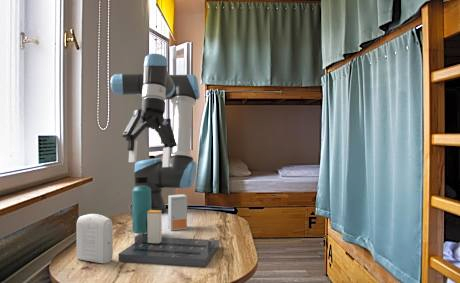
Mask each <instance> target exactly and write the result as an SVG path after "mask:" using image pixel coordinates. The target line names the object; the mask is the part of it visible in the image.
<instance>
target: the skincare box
mask: <svg viewBox="0 0 460 283" xmlns="http://www.w3.org/2000/svg"><path fill="white" fill-rule="evenodd" d="M167 197H168V198H167V200H168V201H167V202H168V203H167V207H168V208H167V210H168V212H167V216H168V217H167V218H168V219H167V220H168V221H167V224H168V225H167V228H168V229H169V230H170V231H171V232H172V231H179V230H180V231H181V230H188V196H187V195H186V194H183V193H182V194H170V195H168V196H167Z"/></svg>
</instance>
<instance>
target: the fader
mask: <svg viewBox="0 0 460 283" xmlns="http://www.w3.org/2000/svg"><path fill="white" fill-rule="evenodd" d="M161 212H162V210H149V211H147V227H148V233H147V236H148V243H160V242H161V241H162V237H163V236H162V227H163V226H162V213H161Z"/></svg>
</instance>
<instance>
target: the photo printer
mask: <svg viewBox="0 0 460 283" xmlns="http://www.w3.org/2000/svg"><path fill="white" fill-rule="evenodd" d="M75 225H76V254H75V255H76V259H77V260H81V261H87V262H92V263H96V264H97V263H98V264H108V263H110V262H111V261H112V259H113V253H114V252H113V249H114V248H113V247H114V246H113V243H114V242H113V238H114V236H113V235H114V234H113V228H114V227H113V225H114V224H113V221H112V220H111V218H109V217H107V216H105V215H102V214H98V213H88V214H84V215H80V216H79V217H78V218H77V221H76V224H75Z"/></svg>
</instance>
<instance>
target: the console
mask: <svg viewBox="0 0 460 283" xmlns="http://www.w3.org/2000/svg"><path fill="white" fill-rule="evenodd" d="M219 248H220V240H219V239H218V240H217V239H215V237H210V238H209V239H203V238H202V239H201V238H199V239H198V238H183V237H163V236H162V241H161V242H160V243H148V235H147V236H146V235H143V234H138V235H136V236H134V243H132V244H131V245H129V246H128V247H126V248H125V249H124V250H122V251H120V252H119V253H118V254H117V255H118V262H123V263H140V264H150V263H151V264H154V265H168V266H181V267H195V268H207V266H208V264H209V263H210V261H212V258H213V257H214V255H215V254H216V252H217V250H219Z"/></svg>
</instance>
